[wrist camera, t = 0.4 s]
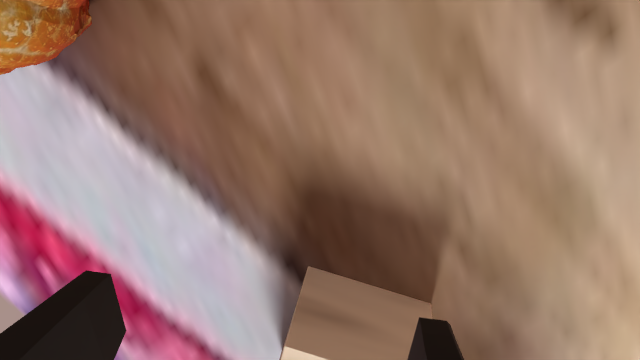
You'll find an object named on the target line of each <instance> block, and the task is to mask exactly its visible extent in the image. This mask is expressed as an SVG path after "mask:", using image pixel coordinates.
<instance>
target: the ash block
mask: <svg viewBox="0 0 640 360" xmlns="http://www.w3.org/2000/svg"><path fill="white" fill-rule="evenodd" d="M419 317H421V318H428V319H433V318H432V307H431V303H428V302H424V301H421V300H418V299H415V298H411V297H408V296H405V295H401V294H398V293H395V292H392V291H388V290H385V289H382V288H379V287H375V286H372V285H369V284H366V283H362V282H359V281H356V280H352V279H349V278H346V277H343V276H339V275H336V274H333V273H330V272H326V271H323V270H320V269H316V268H313V267H310V266H308V268H307V271H306V275H305V278H304V281H303V284H302V288H301V291H300V294H299V297H298V301H297V304H296V307H295V310H294V314H293V317H292V320H291V323H290V327H289V330H288V333H287V336H286V340H285V343H284V346H283V349H282V353H281V356H280V360H407V359H408V355H409V352H410V348H411V345H412V341H413V337H414V334H415V330H416V327H417V323H418V319H419Z"/></svg>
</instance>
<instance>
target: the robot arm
mask: <svg viewBox="0 0 640 360" xmlns="http://www.w3.org/2000/svg"><path fill="white" fill-rule="evenodd" d="M125 332H126V328H125V325H124V321H123V317H122V314H121V310H120V306H119V303H118V299H117V295H116V292H115V288H114V284H113V281H112V277H111V274H107V273H100V272H92V271H85V272H83V273H82V274H81V275H79V276H78V277H76V278H75V279H74V280H72V281H71V282H70V283H68V284H67V285H66V286H64V287H63V288H62V289H60V290H59V291H57V292H56V293H55V294H53V295H52V296H51V297H49V298H48V299H47V300H45V301H44V302H43V303H41V304H40V305H39V306H37V307H36V308H35V309H33V310H32V311H31V312H29V313H28V314H27V315H25V316H24V317H22V318H21V319H20V320H18V321H17V322H16V323H14V324H13V325H12V326H10V327H9V328H7V329H6V330H5V331H3V332H2V333H0V360H114V358H115V356H116V354H117V351H118V349H119V346H120V344H121V342H122V339H123V337H124V335H125ZM407 360H464V358H463V356H462V354H461V351H460V349H459V346H458V344H457V341H456V339H455V336H454V334H453V331H452V328H451V326H450V324H449V323H448V322H447V321H443V320H435V319H428V318H421V317H419V319H418V323H417V327H416V330H415V334H414V337H413V341H412V345H411V348H410V352H409V355H408V359H407Z"/></svg>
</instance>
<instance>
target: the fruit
mask: <svg viewBox="0 0 640 360" xmlns="http://www.w3.org/2000/svg"><path fill="white" fill-rule="evenodd" d="M88 9H89V0H0V75H1V74H5V73H10V72H11V71H13V70H14V69H15V68H19V67H26V66H30V65H37V64H40V63H42V62H45V61H49V60H51V59H53V58H55V57H57V56H58V55H59V53H60V52H61V51H62V50H63V49H64V48H65V47H67V46H68V45H70V44H71V43H73V42H74V41H75V40H76V38H77V37H78V36H80V35H81V34H82V33H83V32H84V31H85V30H86V29H87V28H88V27H89V26H90V25H91V24H92V21H91V16H90V14H89V12H88Z"/></svg>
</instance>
